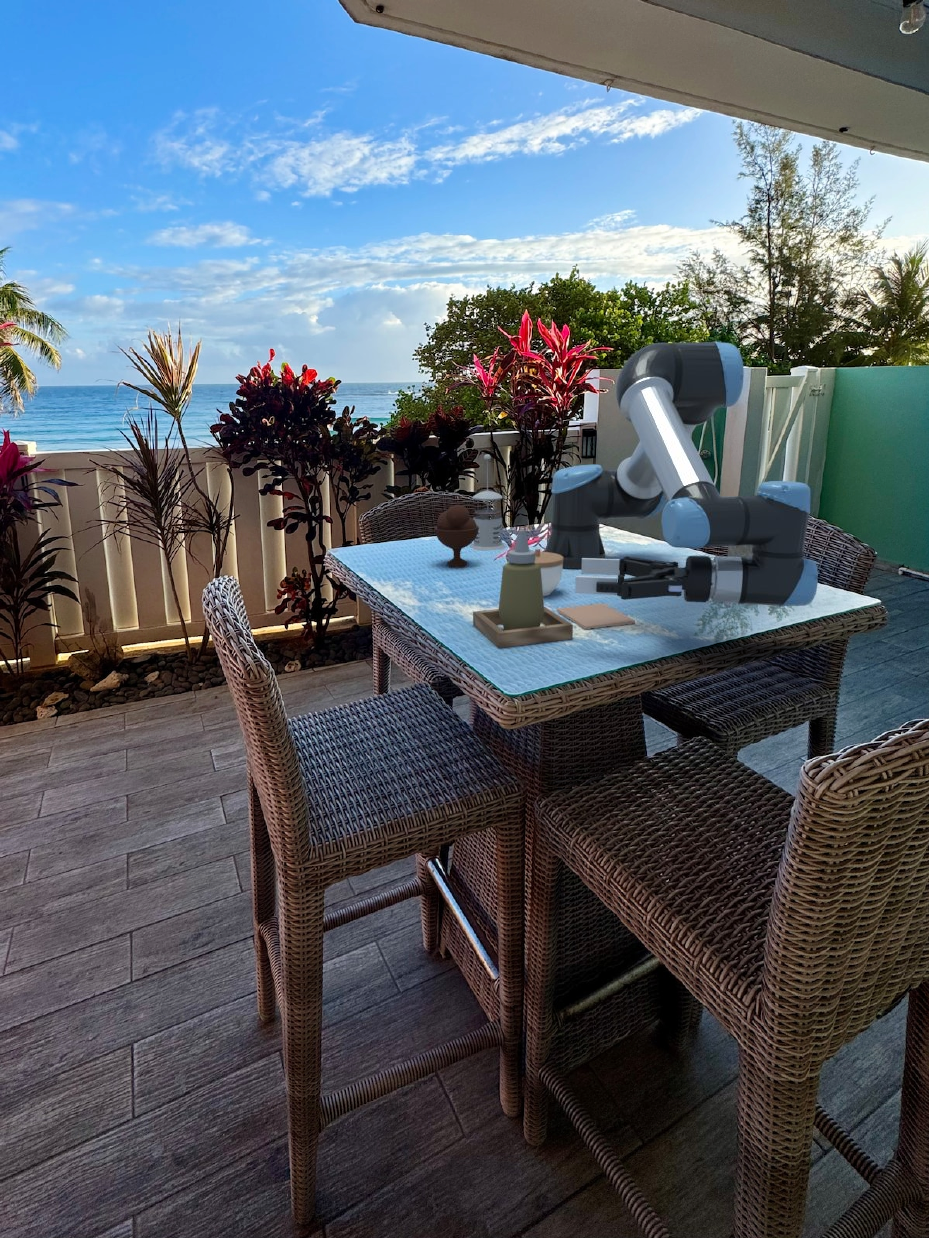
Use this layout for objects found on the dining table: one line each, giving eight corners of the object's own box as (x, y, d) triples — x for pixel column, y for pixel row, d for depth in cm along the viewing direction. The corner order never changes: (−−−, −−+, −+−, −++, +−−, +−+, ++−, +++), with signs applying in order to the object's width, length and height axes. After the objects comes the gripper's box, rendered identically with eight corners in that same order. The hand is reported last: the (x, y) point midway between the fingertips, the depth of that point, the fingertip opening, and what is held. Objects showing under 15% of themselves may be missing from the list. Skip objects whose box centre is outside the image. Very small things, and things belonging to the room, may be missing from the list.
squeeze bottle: (541, 640, 122) (543, 535, 116) (494, 637, 123) (494, 534, 118) (546, 625, 129) (548, 527, 124) (501, 623, 131) (501, 526, 125)
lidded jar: (529, 602, 144) (529, 556, 141) (502, 590, 153) (502, 547, 150) (572, 595, 149) (574, 550, 146) (544, 584, 158) (544, 542, 155)
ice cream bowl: (487, 562, 178) (486, 502, 174) (463, 572, 170) (462, 508, 165) (451, 558, 184) (450, 500, 180) (426, 567, 175) (424, 505, 171)
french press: (467, 550, 194) (466, 455, 186) (474, 541, 205) (472, 452, 197) (503, 550, 192) (503, 455, 185) (508, 542, 203) (508, 452, 196)
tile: (603, 606, 140) (603, 603, 140) (635, 623, 129) (635, 620, 129) (556, 611, 138) (556, 608, 137) (585, 629, 127) (585, 626, 126)
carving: (765, 588, 151) (772, 532, 148) (742, 593, 148) (748, 536, 144) (740, 582, 156) (746, 527, 153) (717, 587, 153) (722, 531, 149)
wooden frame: (540, 617, 134) (540, 604, 133) (572, 638, 122) (572, 624, 121) (473, 624, 130) (472, 611, 130) (498, 648, 118) (498, 633, 117)
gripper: (716, 624, 105) (571, 617, 110) (702, 583, 129) (583, 578, 133) (721, 574, 103) (573, 569, 108) (705, 542, 126) (584, 539, 131)
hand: (578, 574), depth 121 cm, fingers open, 13 cm apart
